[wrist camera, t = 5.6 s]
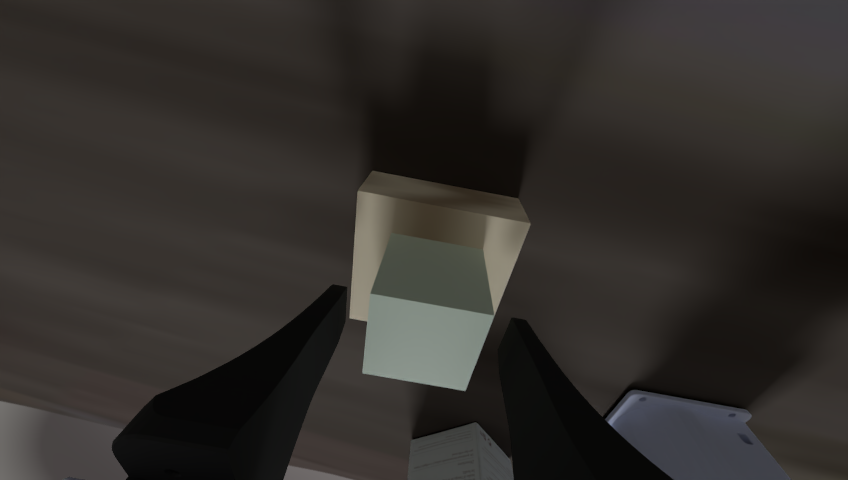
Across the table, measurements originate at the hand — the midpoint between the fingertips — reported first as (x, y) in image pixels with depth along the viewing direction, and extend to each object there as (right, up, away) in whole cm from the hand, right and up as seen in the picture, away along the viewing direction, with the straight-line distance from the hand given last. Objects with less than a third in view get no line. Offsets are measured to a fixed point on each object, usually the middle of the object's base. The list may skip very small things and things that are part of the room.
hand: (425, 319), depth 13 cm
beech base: (0, +3, +5) cm, 6 cm away
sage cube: (0, +2, +3) cm, 3 cm away
